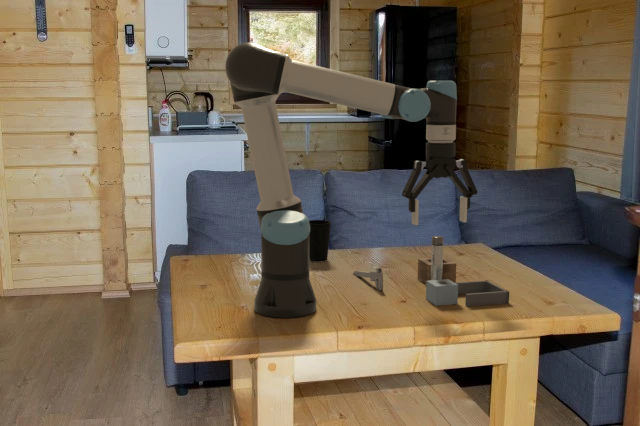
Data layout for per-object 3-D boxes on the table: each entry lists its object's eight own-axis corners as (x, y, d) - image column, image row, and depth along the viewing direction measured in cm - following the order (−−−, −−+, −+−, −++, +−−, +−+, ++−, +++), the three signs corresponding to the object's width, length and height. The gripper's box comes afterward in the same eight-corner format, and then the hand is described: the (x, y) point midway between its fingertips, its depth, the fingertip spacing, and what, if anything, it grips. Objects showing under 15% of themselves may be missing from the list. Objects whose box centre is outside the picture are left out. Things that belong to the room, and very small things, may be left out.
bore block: (428, 286, 210) (429, 265, 209) (417, 279, 218) (418, 258, 217) (455, 284, 212) (456, 263, 211) (443, 277, 220) (444, 257, 219)
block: (435, 305, 191) (436, 286, 191) (425, 299, 197) (426, 280, 196) (457, 304, 193) (458, 284, 192) (447, 298, 199) (447, 278, 198)
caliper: (383, 292, 204) (383, 269, 203) (379, 292, 204) (380, 269, 203) (356, 274, 224) (356, 253, 222) (352, 274, 223) (352, 253, 222)
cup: (335, 258, 242) (335, 221, 240) (322, 263, 235) (322, 225, 233) (314, 255, 246) (314, 219, 244) (301, 260, 239) (301, 222, 237)
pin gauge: (432, 294, 201) (434, 238, 199) (428, 291, 204) (429, 236, 202) (443, 293, 202) (445, 237, 200) (438, 290, 205) (440, 235, 203)
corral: (466, 306, 191) (467, 294, 190) (447, 294, 202) (447, 283, 201) (508, 303, 194) (509, 291, 193) (487, 291, 205) (487, 280, 204)
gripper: (400, 143, 190) (399, 228, 193) (491, 141, 196) (489, 222, 200) (389, 141, 197) (389, 223, 200) (478, 139, 203) (476, 218, 207)
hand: (439, 223), depth 200 cm, fingers open, 13 cm apart
